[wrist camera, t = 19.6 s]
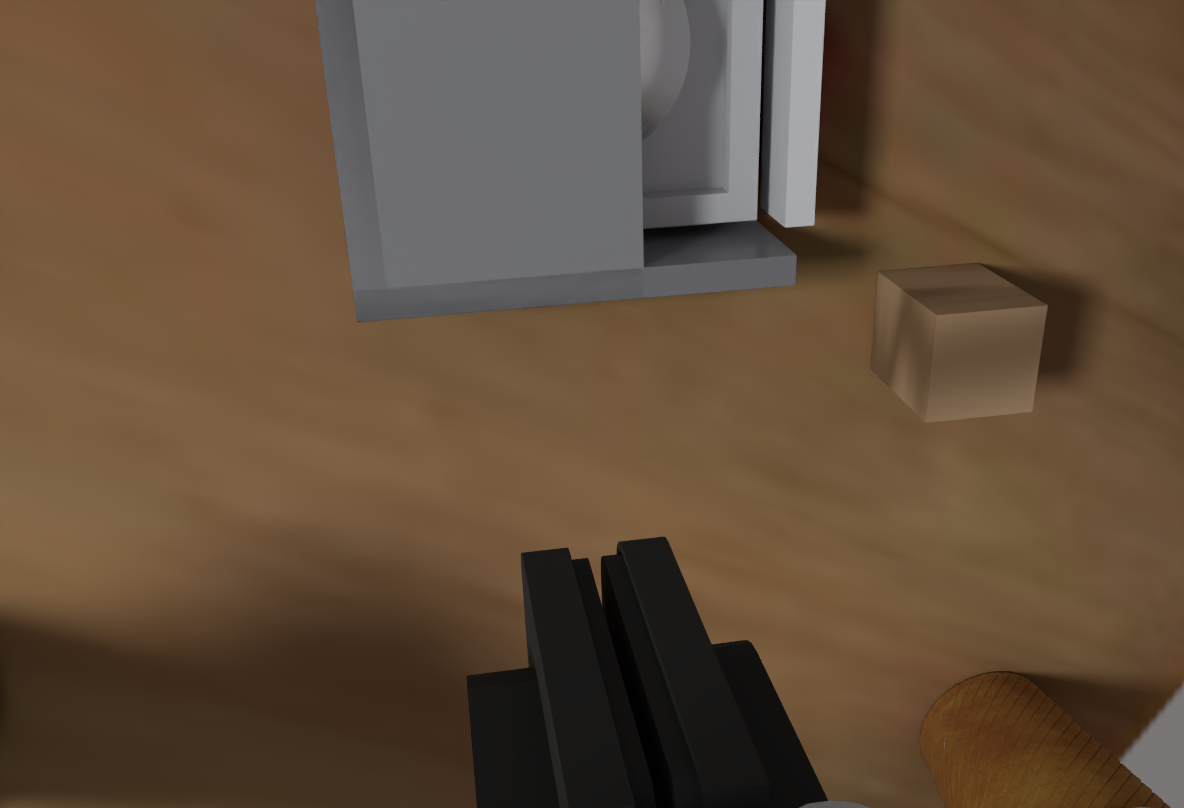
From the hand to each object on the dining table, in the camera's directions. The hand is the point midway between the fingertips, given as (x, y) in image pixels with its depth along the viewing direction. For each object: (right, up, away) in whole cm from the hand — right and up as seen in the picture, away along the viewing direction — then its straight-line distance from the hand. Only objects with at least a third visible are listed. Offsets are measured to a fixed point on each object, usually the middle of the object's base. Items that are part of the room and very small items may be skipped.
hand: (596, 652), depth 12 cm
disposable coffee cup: (+18, -12, +39) cm, 45 cm away
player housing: (-1, +15, +23) cm, 28 cm away
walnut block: (+13, +6, +29) cm, 33 cm away
